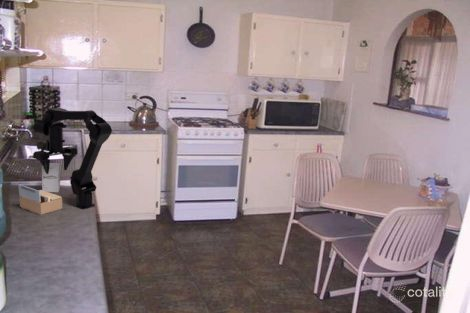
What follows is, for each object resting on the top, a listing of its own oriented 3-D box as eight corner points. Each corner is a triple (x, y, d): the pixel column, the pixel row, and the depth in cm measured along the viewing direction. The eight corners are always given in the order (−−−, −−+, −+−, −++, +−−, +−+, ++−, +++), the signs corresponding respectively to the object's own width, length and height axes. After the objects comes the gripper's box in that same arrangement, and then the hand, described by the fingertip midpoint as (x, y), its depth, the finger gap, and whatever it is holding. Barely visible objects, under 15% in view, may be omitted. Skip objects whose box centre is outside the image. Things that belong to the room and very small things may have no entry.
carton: (62, 209, 185) (62, 194, 183) (40, 215, 176) (40, 199, 175) (41, 201, 192) (41, 187, 190) (19, 207, 183) (19, 192, 182)
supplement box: (41, 192, 204) (41, 166, 201) (44, 188, 211) (43, 162, 208) (58, 192, 206) (58, 166, 203) (60, 187, 213) (60, 162, 210)
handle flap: (39, 191, 174) (38, 191, 173) (40, 202, 175) (39, 202, 175) (19, 184, 181) (17, 184, 180) (20, 194, 182) (18, 195, 182)
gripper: (62, 132, 203) (62, 165, 206) (24, 136, 187) (25, 172, 191) (78, 136, 197) (78, 169, 201) (40, 140, 182) (41, 177, 185)
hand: (56, 171), depth 194 cm, fingers open, 9 cm apart
